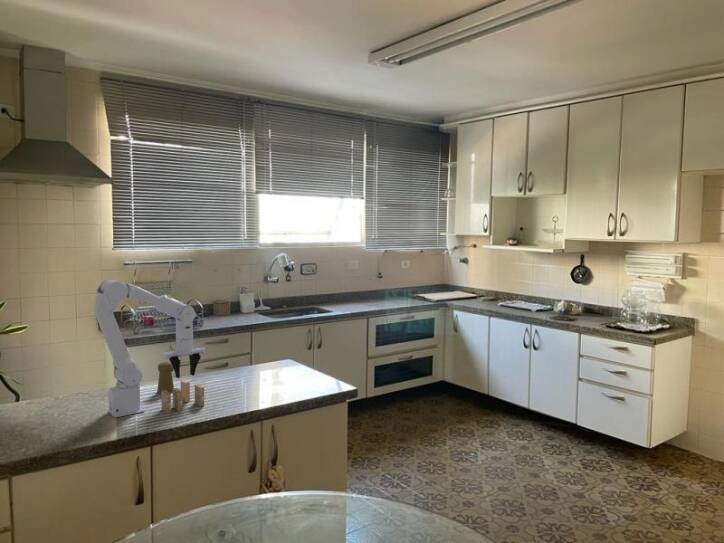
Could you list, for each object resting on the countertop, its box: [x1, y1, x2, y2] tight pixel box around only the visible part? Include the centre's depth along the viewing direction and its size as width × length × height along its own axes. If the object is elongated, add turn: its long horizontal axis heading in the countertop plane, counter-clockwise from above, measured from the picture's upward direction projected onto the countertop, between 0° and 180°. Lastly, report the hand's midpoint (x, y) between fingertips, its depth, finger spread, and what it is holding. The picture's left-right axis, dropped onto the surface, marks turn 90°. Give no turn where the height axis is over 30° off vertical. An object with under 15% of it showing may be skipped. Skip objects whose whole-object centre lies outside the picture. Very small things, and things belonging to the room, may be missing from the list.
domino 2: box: [180, 379, 191, 402], centre depth 194 cm, size 1×5×6 cm, turn 39°
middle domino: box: [172, 387, 183, 412], centre depth 184 cm, size 1×5×6 cm, turn 38°
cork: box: [156, 361, 175, 395], centre depth 202 cm, size 6×6×11 cm
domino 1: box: [160, 390, 172, 414], centre depth 182 cm, size 1×5×6 cm, turn 38°
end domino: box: [194, 383, 205, 407], centre depth 189 cm, size 1×5×6 cm, turn 38°
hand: (185, 376), depth 193 cm, fingers open, 5 cm apart
